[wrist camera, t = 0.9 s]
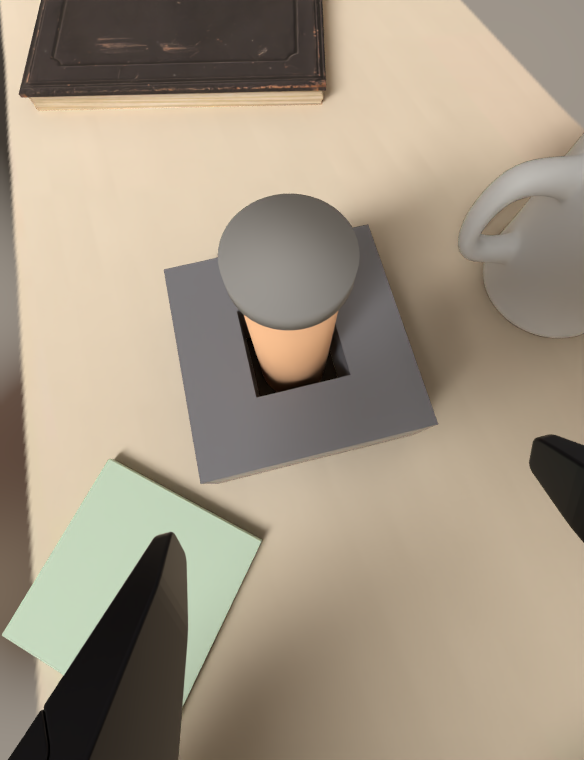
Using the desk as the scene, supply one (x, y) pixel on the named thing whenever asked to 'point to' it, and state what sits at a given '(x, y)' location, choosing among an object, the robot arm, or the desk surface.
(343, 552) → the desk surface
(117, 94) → the hardcover book
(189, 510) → the mat
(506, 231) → the mug
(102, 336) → the desk surface
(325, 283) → the plug
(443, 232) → the desk surface
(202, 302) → the grey peg hole block
